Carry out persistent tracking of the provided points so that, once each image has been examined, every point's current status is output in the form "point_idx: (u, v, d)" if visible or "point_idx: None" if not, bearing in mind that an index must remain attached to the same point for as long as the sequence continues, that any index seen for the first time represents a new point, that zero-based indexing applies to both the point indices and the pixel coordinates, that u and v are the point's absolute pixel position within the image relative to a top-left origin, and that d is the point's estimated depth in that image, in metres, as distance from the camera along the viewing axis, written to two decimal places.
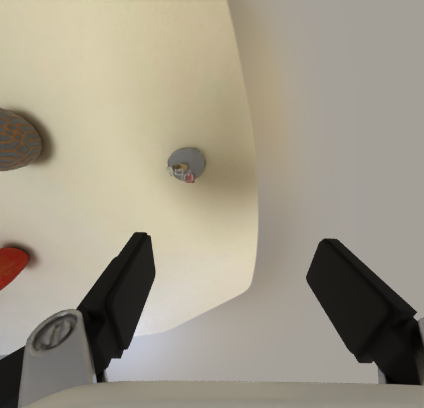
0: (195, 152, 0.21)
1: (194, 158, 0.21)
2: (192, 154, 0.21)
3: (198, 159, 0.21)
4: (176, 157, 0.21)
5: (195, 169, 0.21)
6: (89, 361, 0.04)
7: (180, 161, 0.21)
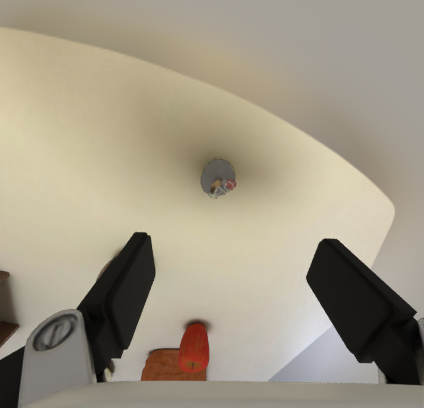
0: (213, 164, 0.20)
1: (217, 168, 0.20)
2: (212, 168, 0.20)
3: (220, 165, 0.20)
4: (206, 182, 0.21)
5: (226, 174, 0.20)
6: (89, 361, 0.04)
7: (211, 182, 0.20)
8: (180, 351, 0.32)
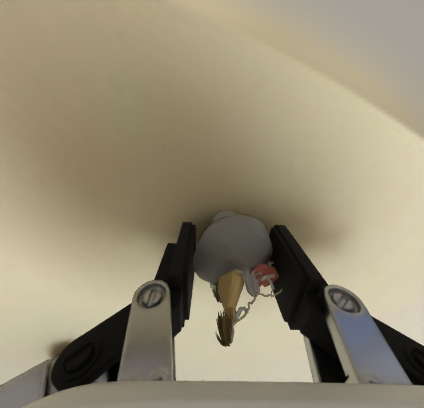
0: (222, 229, 0.08)
1: (232, 241, 0.08)
2: (221, 238, 0.08)
3: (240, 233, 0.08)
4: (204, 267, 0.09)
5: (255, 254, 0.08)
6: (170, 334, 0.05)
7: (217, 268, 0.09)
8: None
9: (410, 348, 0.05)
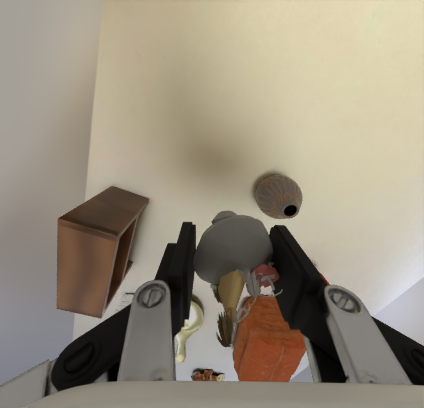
0: (222, 229, 0.08)
1: (232, 242, 0.08)
2: (222, 239, 0.08)
3: (241, 234, 0.08)
4: (205, 268, 0.09)
5: (256, 255, 0.08)
6: (170, 334, 0.05)
7: (217, 269, 0.09)
8: None
9: (410, 348, 0.05)
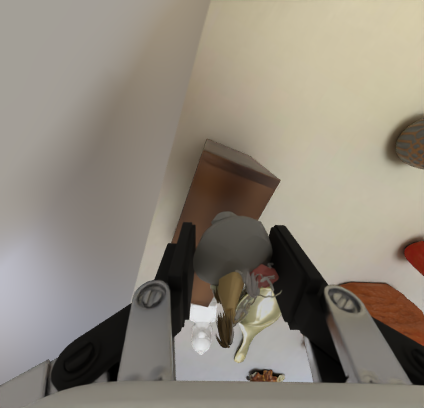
0: (222, 230, 0.08)
1: (232, 242, 0.08)
2: (221, 239, 0.08)
3: (240, 235, 0.08)
4: (204, 269, 0.09)
5: (255, 256, 0.08)
6: (171, 334, 0.05)
7: (217, 270, 0.09)
8: None
9: (410, 348, 0.05)
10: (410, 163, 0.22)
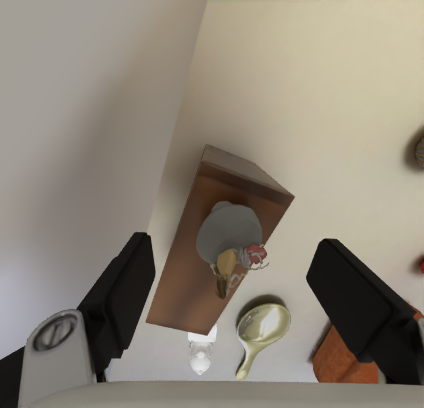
0: (220, 215, 0.10)
1: (228, 225, 0.10)
2: (219, 223, 0.10)
3: (235, 219, 0.10)
4: (206, 248, 0.11)
5: (247, 236, 0.10)
6: (89, 361, 0.04)
7: (216, 249, 0.10)
8: None
9: None
10: None
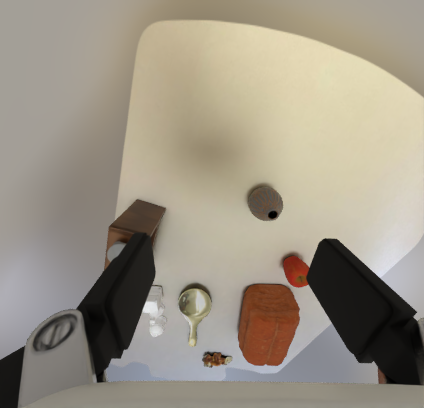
0: (113, 247, 0.28)
1: (115, 251, 0.28)
2: (112, 250, 0.28)
3: (118, 249, 0.28)
4: (110, 259, 0.29)
5: None
6: (89, 361, 0.04)
7: None
8: (290, 270, 0.42)
9: None
10: None
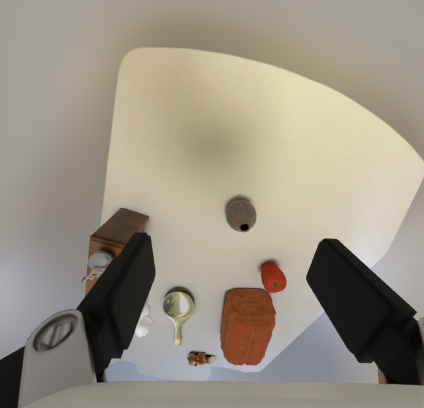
0: (93, 256, 0.30)
1: (95, 259, 0.30)
2: (93, 259, 0.30)
3: (97, 257, 0.30)
4: (91, 266, 0.31)
5: (102, 263, 0.30)
6: (89, 361, 0.04)
7: (93, 267, 0.31)
8: (265, 276, 0.45)
9: None
10: None
